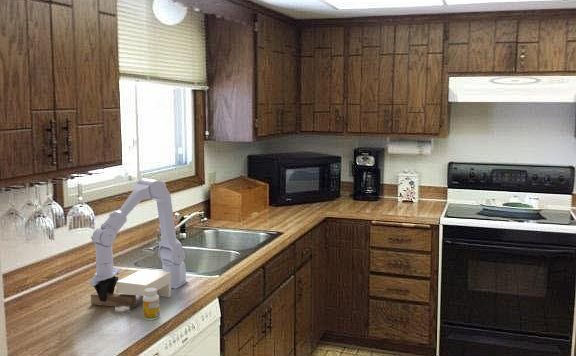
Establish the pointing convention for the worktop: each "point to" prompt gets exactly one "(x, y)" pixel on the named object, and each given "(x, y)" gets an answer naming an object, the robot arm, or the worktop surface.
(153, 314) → the supplement bottle
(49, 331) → the worktop surface
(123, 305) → the clear glass cup
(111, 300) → the tan long block
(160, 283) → the cream step stool
